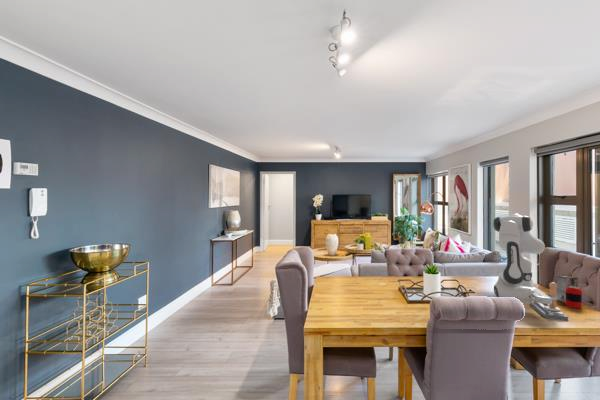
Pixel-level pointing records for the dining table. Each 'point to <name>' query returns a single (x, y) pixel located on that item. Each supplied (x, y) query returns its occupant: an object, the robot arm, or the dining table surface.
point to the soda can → (573, 297)
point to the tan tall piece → (553, 305)
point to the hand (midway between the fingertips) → (554, 297)
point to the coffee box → (565, 286)
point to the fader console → (548, 311)
